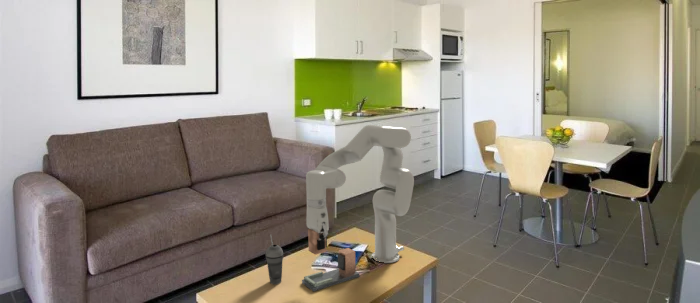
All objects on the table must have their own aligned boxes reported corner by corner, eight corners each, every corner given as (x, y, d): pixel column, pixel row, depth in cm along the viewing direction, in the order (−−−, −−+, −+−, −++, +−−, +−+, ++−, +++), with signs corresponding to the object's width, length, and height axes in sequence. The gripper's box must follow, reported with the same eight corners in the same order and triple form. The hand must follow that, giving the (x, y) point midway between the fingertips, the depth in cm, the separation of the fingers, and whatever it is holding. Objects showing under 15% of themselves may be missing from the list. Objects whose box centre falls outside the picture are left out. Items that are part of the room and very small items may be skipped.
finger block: (327, 251, 181) (327, 229, 180) (315, 254, 178) (314, 232, 176) (321, 247, 185) (320, 226, 184) (308, 250, 182) (308, 229, 180)
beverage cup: (281, 286, 182) (279, 238, 178) (263, 285, 183) (261, 237, 180) (287, 278, 189) (285, 232, 185) (270, 277, 190) (268, 231, 187)
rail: (346, 269, 197) (346, 246, 195) (359, 276, 190) (359, 252, 188) (302, 283, 184) (301, 258, 183) (313, 291, 177) (312, 266, 175)
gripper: (336, 205, 173) (337, 251, 176) (313, 196, 187) (314, 238, 190) (319, 209, 169) (320, 255, 172) (297, 199, 183) (298, 242, 186)
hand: (317, 246), depth 181 cm, fingers closed on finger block, 5 cm apart
